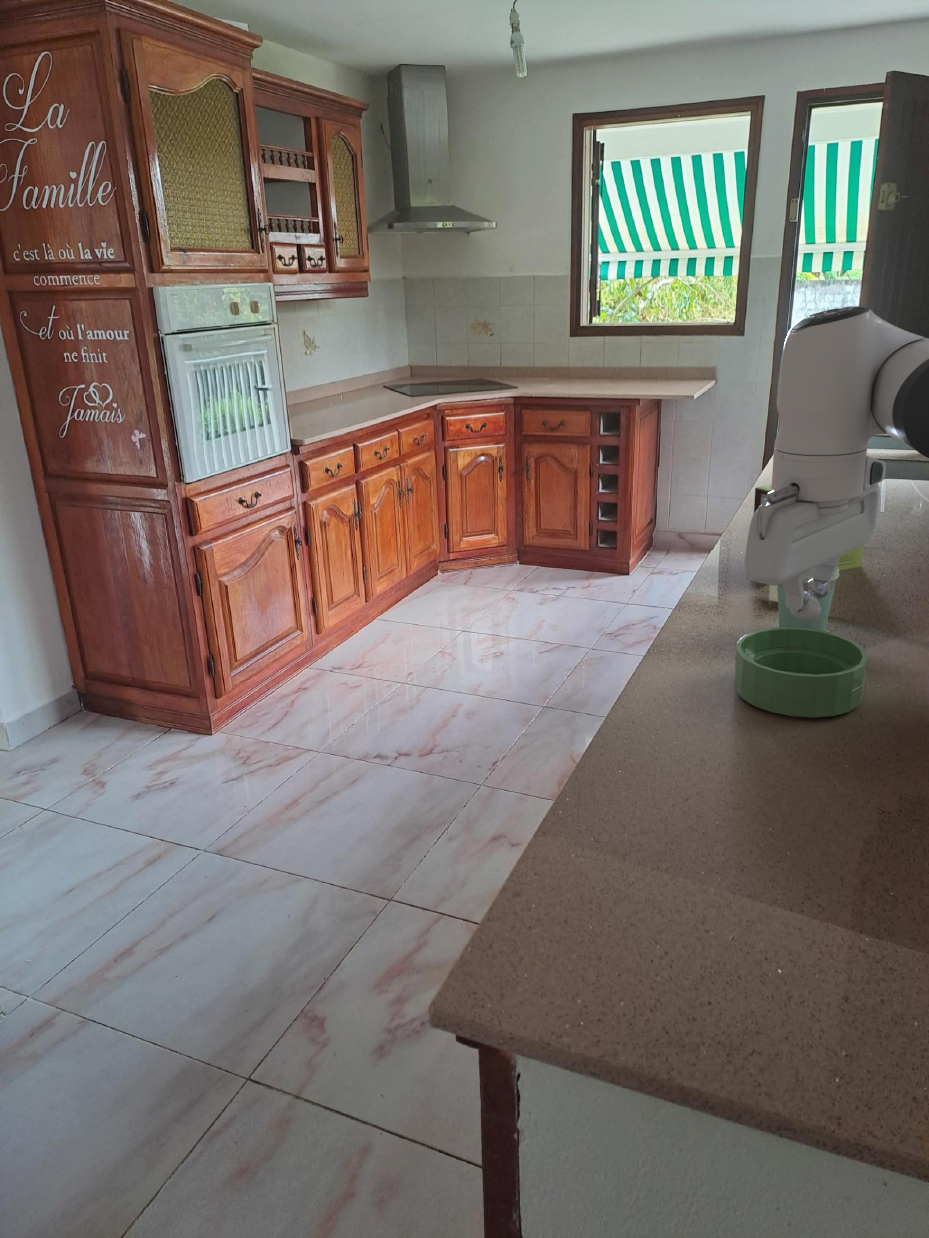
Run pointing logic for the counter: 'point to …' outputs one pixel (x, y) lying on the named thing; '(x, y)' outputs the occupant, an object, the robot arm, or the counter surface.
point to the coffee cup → (825, 602)
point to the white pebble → (808, 609)
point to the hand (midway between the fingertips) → (807, 601)
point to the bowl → (800, 671)
